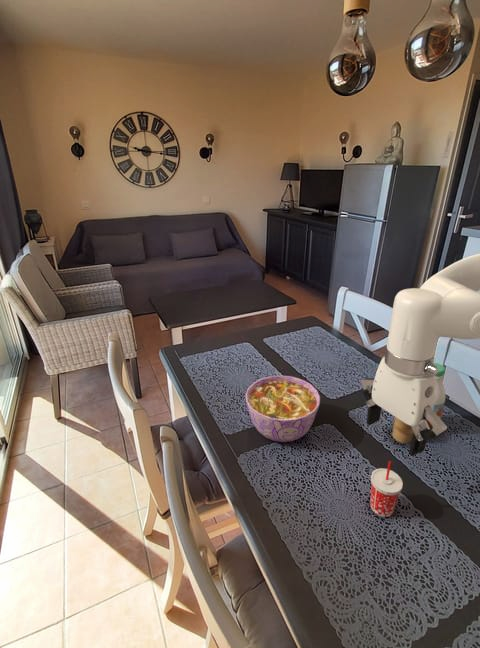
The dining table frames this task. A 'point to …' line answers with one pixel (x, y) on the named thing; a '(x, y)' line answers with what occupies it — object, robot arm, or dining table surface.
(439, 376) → the milk bottle
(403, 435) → the cylinder
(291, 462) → the dining table surface
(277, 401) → the bowl of food
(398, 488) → the beverage cup
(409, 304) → the robot arm
